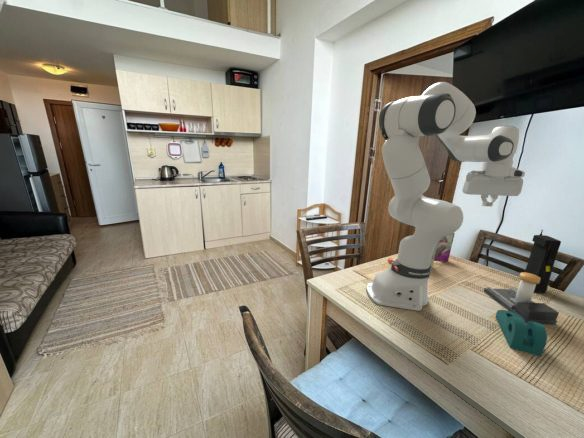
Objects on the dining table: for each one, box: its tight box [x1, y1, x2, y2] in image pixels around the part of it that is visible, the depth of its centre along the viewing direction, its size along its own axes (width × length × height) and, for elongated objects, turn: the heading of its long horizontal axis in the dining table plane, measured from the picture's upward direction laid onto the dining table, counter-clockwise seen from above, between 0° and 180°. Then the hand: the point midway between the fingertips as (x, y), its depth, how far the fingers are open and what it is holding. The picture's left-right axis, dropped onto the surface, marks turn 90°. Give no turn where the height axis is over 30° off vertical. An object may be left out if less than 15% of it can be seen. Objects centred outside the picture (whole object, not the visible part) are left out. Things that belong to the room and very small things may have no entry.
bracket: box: [495, 309, 548, 357], centre depth 75 cm, size 18×7×8 cm, turn 153°
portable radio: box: [519, 229, 562, 294], centre depth 98 cm, size 8×6×25 cm
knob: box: [508, 271, 541, 306], centre depth 85 cm, size 5×5×12 cm
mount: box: [483, 286, 560, 326], centre depth 88 cm, size 19×10×5 cm, turn 177°
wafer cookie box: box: [434, 232, 456, 263], centre depth 125 cm, size 11×5×16 cm, turn 77°
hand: (486, 206), depth 97 cm, fingers closed
